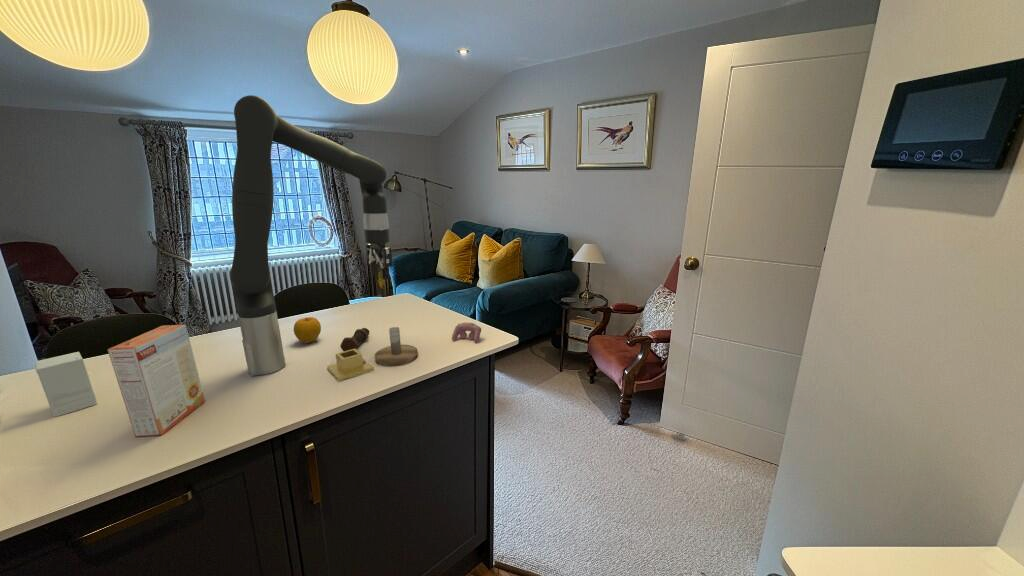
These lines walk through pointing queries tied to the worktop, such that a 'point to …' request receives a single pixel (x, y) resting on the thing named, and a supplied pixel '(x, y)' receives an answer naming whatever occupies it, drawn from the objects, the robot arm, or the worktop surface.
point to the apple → (307, 329)
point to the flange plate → (349, 365)
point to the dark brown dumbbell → (355, 339)
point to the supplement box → (66, 383)
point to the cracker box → (157, 379)
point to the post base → (398, 358)
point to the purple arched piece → (464, 327)
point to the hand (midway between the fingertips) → (380, 277)
